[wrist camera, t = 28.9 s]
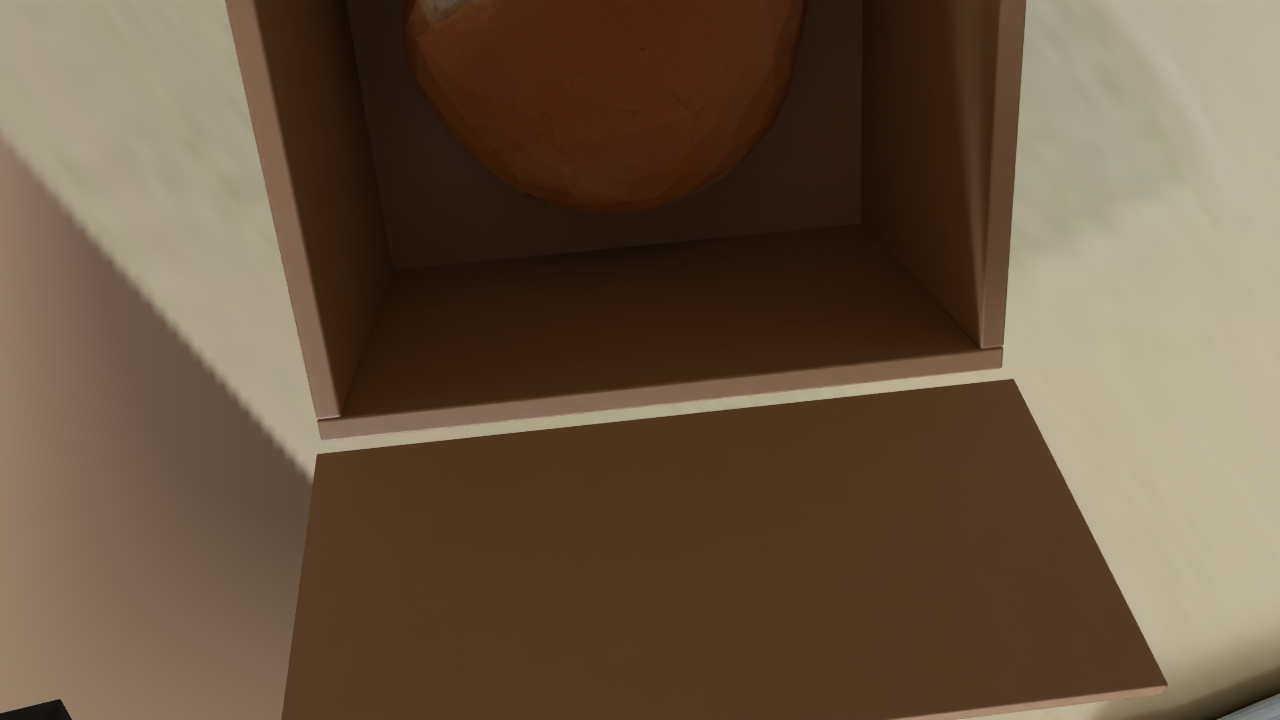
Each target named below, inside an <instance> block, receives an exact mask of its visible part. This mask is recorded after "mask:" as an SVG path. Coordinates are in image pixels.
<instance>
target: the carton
mask: <svg viewBox="0 0 1280 720" xmlns="http://www.w3.org/2000/svg"><path fill="white" fill-rule="evenodd" d="M225 2H226V7H227V11H228V16H229V21H230V25H231V30H232V34H233V39H234V43H235V48H236V53H237V57H238V62H239V66H240V71H241V75H242V80H243V85H244V89H245V94H246V98H247V103H248V107H249V112H250V117H251V121H252V126H253V130H254V135H255V139H256V144H257V149H258V153H259V158H260V162H261V167H262V171H263V176H264V180H265V185H266V190H267V194H268V199H269V203H270V208H271V212H272V217H273V222H274V226H275V231H276V235H277V240H278V244H279V249H280V254H281V258H282V263H283V267H284V272H285V276H286V281H287V286H288V290H289V295H290V299H291V304H292V308H293V313H294V318H295V322H296V327H297V331H298V336H299V340H300V345H301V350H302V354H303V359H304V363H305V368H306V372H307V377H308V382H309V386H310V391H311V395H312V400H313V404H314V409H315V414H316V417H317V419H318V421H317V423H318V427H319V432H320V436H321V439H322V441H330V440H340V439H349V438H358V437H368V436H377V435H386V434H396V433H405V432H414V431H423V430H433V429H442V428H451V427H461V426H470V425H479V424H489V423H498V422H507V421H516V420H526V419H535V418H544V417H554V416H563V415H572V414H581V413H591V412H600V411H609V410H619V409H628V408H637V407H647V406H656V405H665V404H674V403H684V402H693V401H702V400H712V399H721V398H730V397H740V396H749V395H758V394H767V393H777V392H786V391H795V390H805V389H814V388H823V387H833V386H842V385H851V384H860V383H870V382H879V381H888V380H898V379H907V378H916V377H925V376H935V375H944V374H953V373H963V372H972V371H981V370H991V369H1000V368H1001V367H1002V358H1003V347H1002V346H1003V343H1004V328H1005V313H1006V298H1007V283H1008V268H1009V253H1010V238H1011V222H1012V207H1013V192H1014V177H1015V162H1016V147H1017V132H1018V117H1019V102H1020V87H1021V72H1022V57H1023V42H1024V27H1025V11H1026V0H807V9H806V17H805V21H804V26H803V30H802V35H801V40H800V44H799V46H798V48H797V49H796V50H795V52H794V53H795V56H796V63H795V67H794V71H793V76H792V80H791V85H790V89H789V92H788V95H787V97H786V99H785V102H784V104H783V106H782V108H781V110H780V112H779V115H778V117H777V119H776V121H775V123H774V125H773V126H772V128H771V129H770V130H769V131H768V132H767V134H766V135H765V136H764V137H763V138H762V140H761V141H760V142H759V143H758V144H757V146H756V147H755V148H754V149H753V150H752V151H751V153H750V154H749V155H748V156H747V157H746V158H745V159H744V160H743V161H742V162H740V163H739V164H738V165H737V166H736V167H735V168H734V169H732V170H731V171H730V172H729V173H728V174H727V175H725V176H724V177H722V178H721V179H719V180H718V181H716V182H715V183H713V184H712V185H710V186H709V187H707V188H705V189H704V190H702V191H701V192H699V193H697V194H695V195H692V196H690V197H687V198H685V199H682V200H679V201H677V202H674V203H672V204H669V205H667V206H664V207H662V208H659V209H656V210H649V211H643V212H637V213H631V214H608V213H593V212H584V211H580V215H577V214H575V213H573V212H571V211H566V210H565V208H564V207H561V208H559V209H558V208H554V207H552V206H551V204H550V202H544V201H542V200H541V199H539V198H538V197H537V198H536V199H535V200H529V199H528V198H526V197H525V196H523V195H522V194H521V193H520V192H518V191H517V190H516V189H515V188H513V187H511V186H509V185H507V184H506V183H504V182H502V181H501V180H500V179H498V178H497V177H496V176H495V175H494V174H493V173H492V172H490V171H489V170H487V169H486V168H484V167H483V166H482V165H481V164H480V163H479V162H478V161H477V160H475V159H474V158H473V157H472V156H471V155H470V154H469V153H468V152H467V151H466V150H465V149H463V148H462V147H461V146H460V145H459V144H458V143H457V142H456V140H455V139H454V138H453V137H452V135H451V134H450V133H449V132H448V130H447V129H446V128H445V127H444V125H443V124H442V123H441V122H440V120H439V119H438V118H437V116H436V115H435V113H434V112H433V110H432V109H431V107H430V106H429V105H428V103H427V102H426V100H425V99H424V97H423V96H422V94H421V93H420V91H419V89H418V87H417V84H416V82H415V80H414V78H413V75H412V73H411V71H410V68H409V66H408V64H407V61H406V53H405V45H404V37H403V29H402V14H403V3H404V0H225Z"/></svg>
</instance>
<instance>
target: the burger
mask: <svg viewBox="0 0 1280 720" xmlns="http://www.w3.org/2000/svg"><path fill="white" fill-rule="evenodd" d="M806 9H807V0H404V3H403V14H402V29H403V37H404V45H405V53H406V61H407V64H408V66H409V68H410V71H411V73H412V75H413V78H414V80H415V82H416V84H417V87H418V89H419V91H420V93H421V94H422V96H423V97H424V99H425V100H426V102H427V103H428V105H429V106H430V107H431V109H432V110H433V112H434V113H435V115H436V116H437V118H438V119H439V120H440V122H441V123H442V124H443V125H444V127H445V128H446V129H447V130H448V132H449V133H450V134H451V135H452V137H453V138H454V139H455V140H456V142H457V143H458V144H459V145H460V146H461V147H462V148H463V149H465V150H466V151H467V152H468V153H469V154H470V155H471V156H472V157H473V158H474V159H475V160H477V161H478V162H479V163H480V164H481V165H482V166H483V167H484V168H486V169H487V170H489V171H490V172H492V173H493V174H494V175H495V176H496V177H497V178H498V179H500V180H501V181H502V182H504V183H506V184H507V185H509V186H511V187H513V188H515V189H516V190H517V191H518V192H520V193H521V194H522V195H523V196H525V197H526V198H528V199H529V200H535V199H536V198H537V197H538V198H539V199H541V200H542V201H544V202H550V204H551V206H552V207H554V208H558V209H559V208H561V207H564V208H565V210H566V211H571V212H573V213H575V214H577V215H580V211H584V212H593V213H608V214H631V213H637V212H643V211H649V210H656V209H659V208H662V207H664V206H667V205H669V204H672V203H674V202H677V201H679V200H682V199H685V198H687V197H690V196H692V195H695V194H697V193H699V192H701V191H702V190H704V189H705V188H707V187H709V186H710V185H712V184H713V183H715V182H716V181H718V180H719V179H721V178H722V177H724V176H725V175H727V174H728V173H729V172H730V171H731V170H732V169H734V168H735V167H736V166H737V165H738V164H739V163H740V162H742V161H743V160H744V159H745V158H746V157H747V156H748V155H749V154H750V153H751V151H752V150H753V149H754V148H755V147H756V146H757V144H758V143H759V142H760V141H761V140H762V138H763V137H764V136H765V135H766V134H767V132H768V131H769V130H770V129H771V128H772V126H773V125H774V123H775V121H776V119H777V117H778V115H779V112H780V110H781V108H782V106H783V104H784V102H785V99H786V97H787V95H788V92H789V89H790V85H791V80H792V76H793V71H794V67H795V63H796V56H795V53H794V52H795V50H796V49H797V48H798V46H799V44H800V40H801V35H802V30H803V26H804V21H805V17H806Z"/></svg>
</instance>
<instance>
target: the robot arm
mask: <svg viewBox="0 0 1280 720" xmlns="http://www.w3.org/2000/svg"><path fill="white" fill-rule="evenodd" d="M0 720H72V719H71V717H70V715H69V714H68V712H67V710H66V708H65V706H64V705H63V703H62V701H61V700H60V699H59V700H54V701H50V702H46V703H42V704H38V705H34V706H30V707H25V708H21V709H17V710H13V711H9V712H4V713H0Z"/></svg>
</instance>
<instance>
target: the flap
mask: <svg viewBox="0 0 1280 720" xmlns="http://www.w3.org/2000/svg"><path fill="white" fill-rule="evenodd" d="M311 496H312V497H311V504H310V511H309V518H308V526H307V533H306V540H305V548H304V555H303V563H302V570H301V578H300V585H299V593H298V600H297V608H296V615H295V623H294V631H293V638H292V645H291V652H290V653H291V654H290V661H289V668H288V676H287V682H286V690H285V697H284V705H283V712H282V720H956V719H964V718H972V717H981V716H989V715H997V714H1005V713H1013V712H1021V711H1029V710H1037V709H1045V708H1053V707H1061V706H1069V705H1077V704H1085V703H1093V702H1101V701H1109V700H1117V699H1125V698H1133V697H1141V696H1149V695H1157V694H1162V693H1164V691H1165V689H1166V687H1167V686H1168V685H1167V682H1166V680H1165V678H1164V676H1163V674H1162V672H1161V670H1160V668H1159V666H1158V664H1157V662H1156V660H1155V658H1154V656H1153V654H1152V652H1151V650H1150V648H1149V646H1148V644H1147V642H1146V640H1145V638H1144V636H1143V634H1142V632H1141V630H1140V628H1139V626H1138V624H1137V622H1136V620H1135V618H1134V616H1133V614H1132V612H1131V610H1130V608H1129V607H1128V605H1127V603H1126V601H1125V599H1124V597H1123V595H1122V593H1121V591H1120V589H1119V587H1118V585H1117V583H1116V581H1115V579H1114V577H1113V575H1112V573H1111V571H1110V569H1109V567H1108V565H1107V563H1106V561H1105V559H1104V557H1103V555H1102V553H1101V551H1100V549H1099V547H1098V545H1097V543H1096V541H1095V539H1094V537H1093V535H1092V533H1091V531H1090V529H1089V527H1088V525H1087V523H1086V521H1085V519H1084V517H1083V515H1082V513H1081V511H1080V510H1079V508H1078V506H1077V504H1076V502H1075V500H1074V498H1073V496H1072V494H1071V492H1070V490H1069V488H1068V486H1067V484H1066V482H1065V480H1064V478H1063V476H1062V474H1061V472H1060V470H1059V468H1058V466H1057V464H1056V462H1055V460H1054V458H1053V456H1052V454H1051V452H1050V450H1049V448H1048V446H1047V444H1046V442H1045V440H1044V438H1043V436H1042V434H1041V432H1040V430H1039V428H1038V426H1037V424H1036V422H1035V420H1034V418H1033V416H1032V414H1031V413H1030V411H1029V409H1028V407H1027V405H1026V403H1025V401H1024V399H1023V397H1022V395H1021V393H1020V391H1019V389H1018V387H1017V385H1016V383H1015V381H1014V379H1008V380H999V381H990V382H980V383H971V384H962V385H953V386H943V387H934V388H925V389H916V390H907V391H897V392H888V393H879V394H870V395H860V396H851V397H842V398H833V399H823V400H814V401H805V402H796V403H786V404H777V405H768V406H759V407H749V408H740V409H731V410H722V411H712V412H703V413H694V414H685V415H675V416H666V417H657V418H648V419H638V420H629V421H620V422H611V423H601V424H592V425H583V426H574V427H564V428H555V429H546V430H537V431H527V432H518V433H509V434H500V435H490V436H481V437H472V438H463V439H453V440H444V441H435V442H426V443H416V444H407V445H398V446H389V447H379V448H370V449H361V450H352V451H342V452H333V453H324V454H318V455H317V458H316V465H315V473H314V480H313V488H312V495H311Z"/></svg>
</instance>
